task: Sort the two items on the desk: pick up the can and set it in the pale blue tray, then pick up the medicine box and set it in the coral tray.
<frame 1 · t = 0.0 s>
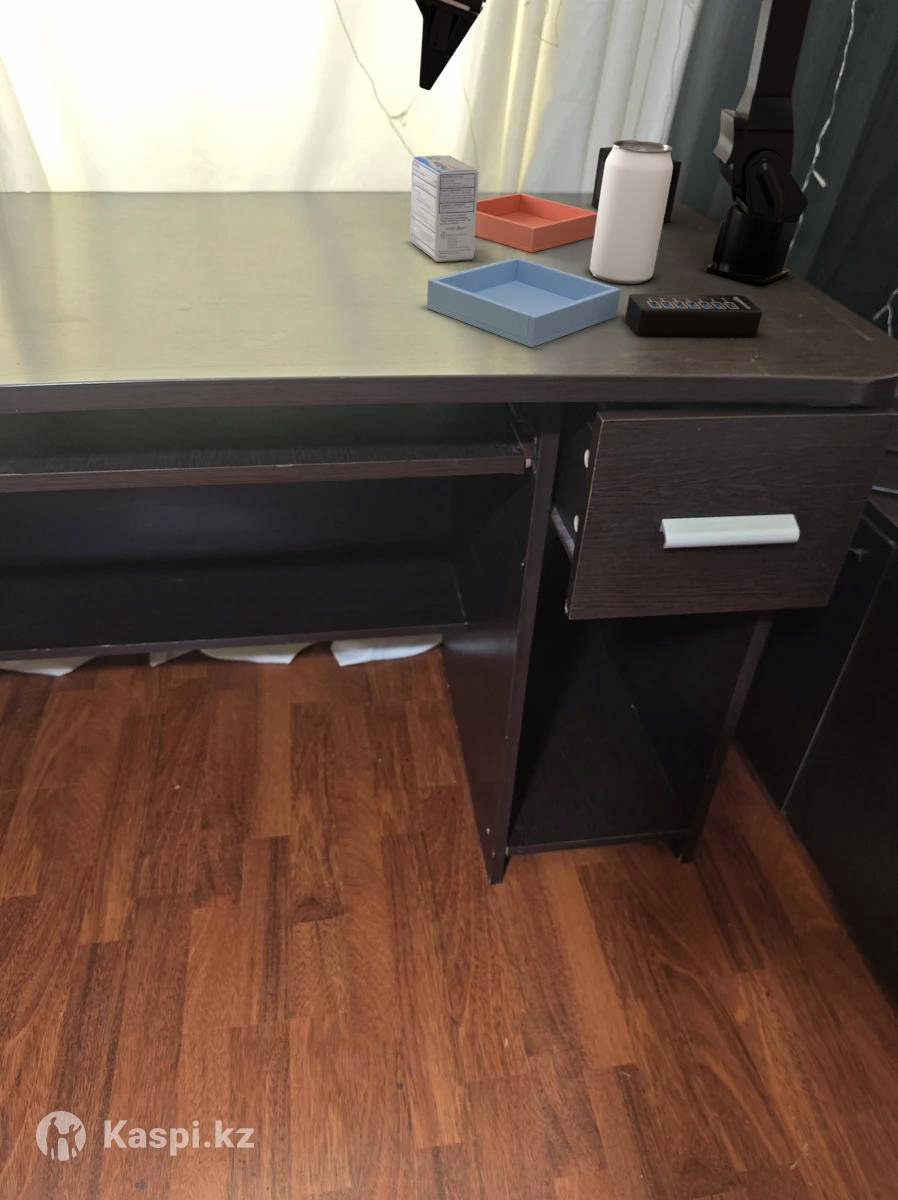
hand: (428, 82, 82), 15 cm above the table, tool pointing down, fingers open, 9 cm apart
multiport hub: (689, 330, 76), on the table
digital camera: (625, 216, 109), on the table
coral tray: (524, 232, 100), on the table
can: (619, 277, 88), on the table
blue tray: (522, 312, 77), on the table
medicine box: (440, 253, 91), on the table
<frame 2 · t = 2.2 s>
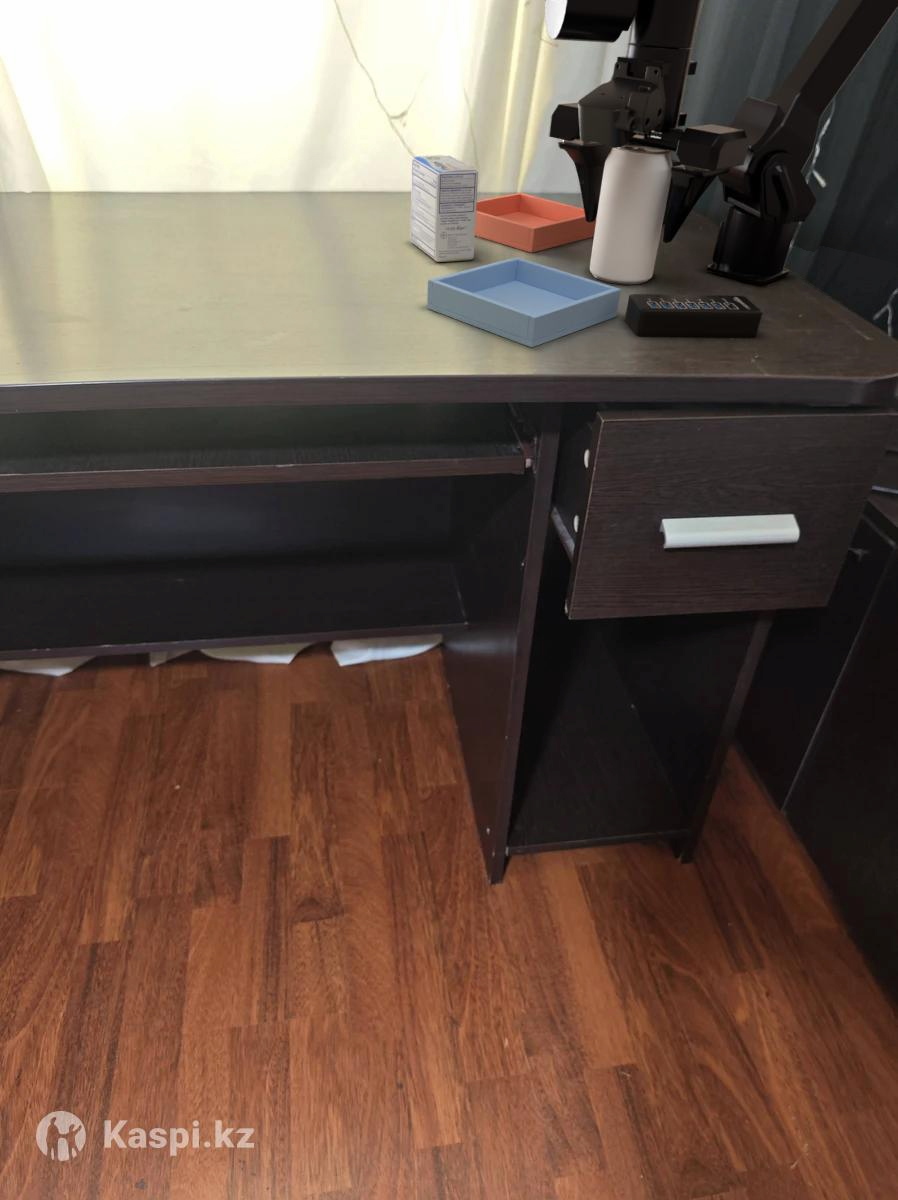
hand: (627, 231, 85), 4 cm above the table, tool pointing down
can: (619, 278, 88), on the table, touching gripper
everything else where it was.
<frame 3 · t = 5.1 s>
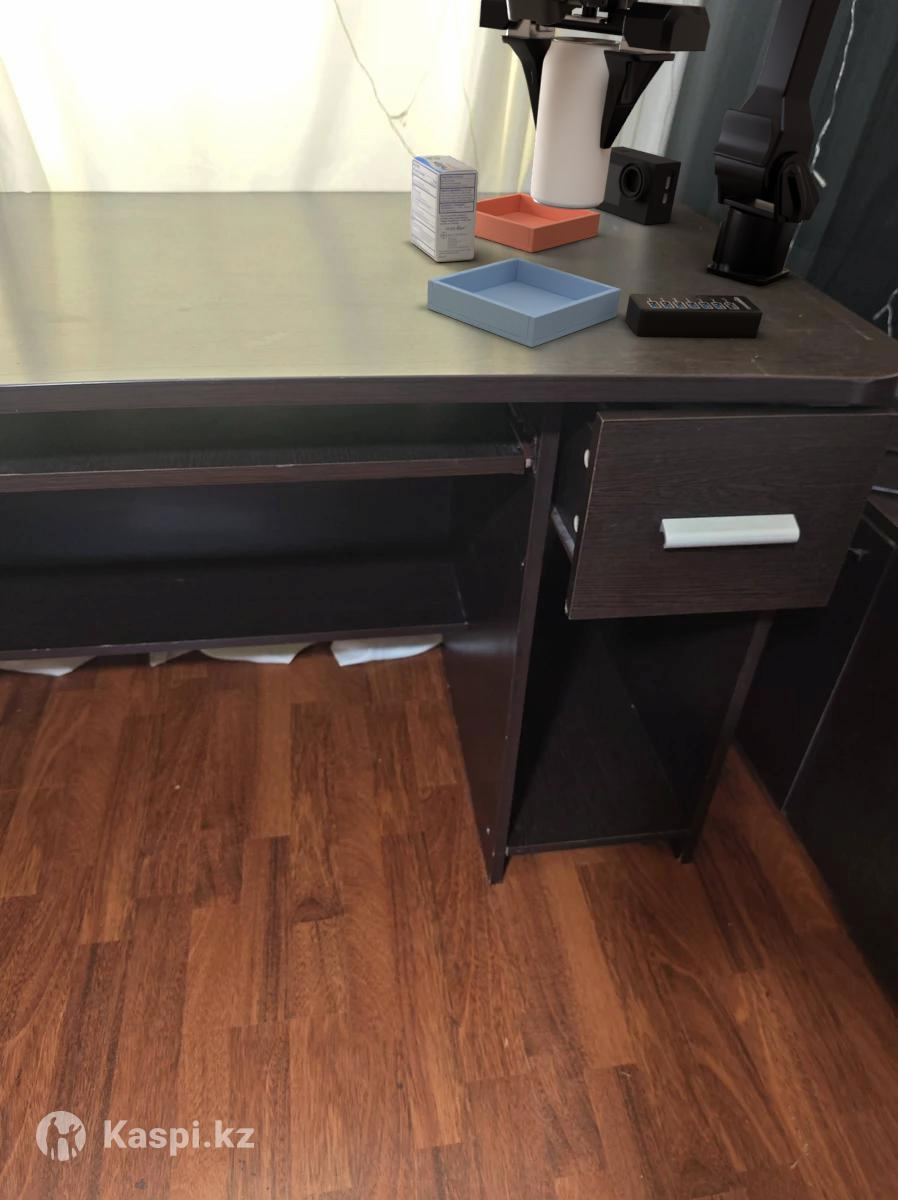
hand: (572, 141, 72), 13 cm above the table, tool pointing down, fingers closed on can, 6 cm apart
can: (565, 204, 75), point 8 cm above the table, touching gripper
everything else where it was.
when the fingers open (5 cm above the table, at t = 7.7 s): can stays where it is, resting on blue tray.
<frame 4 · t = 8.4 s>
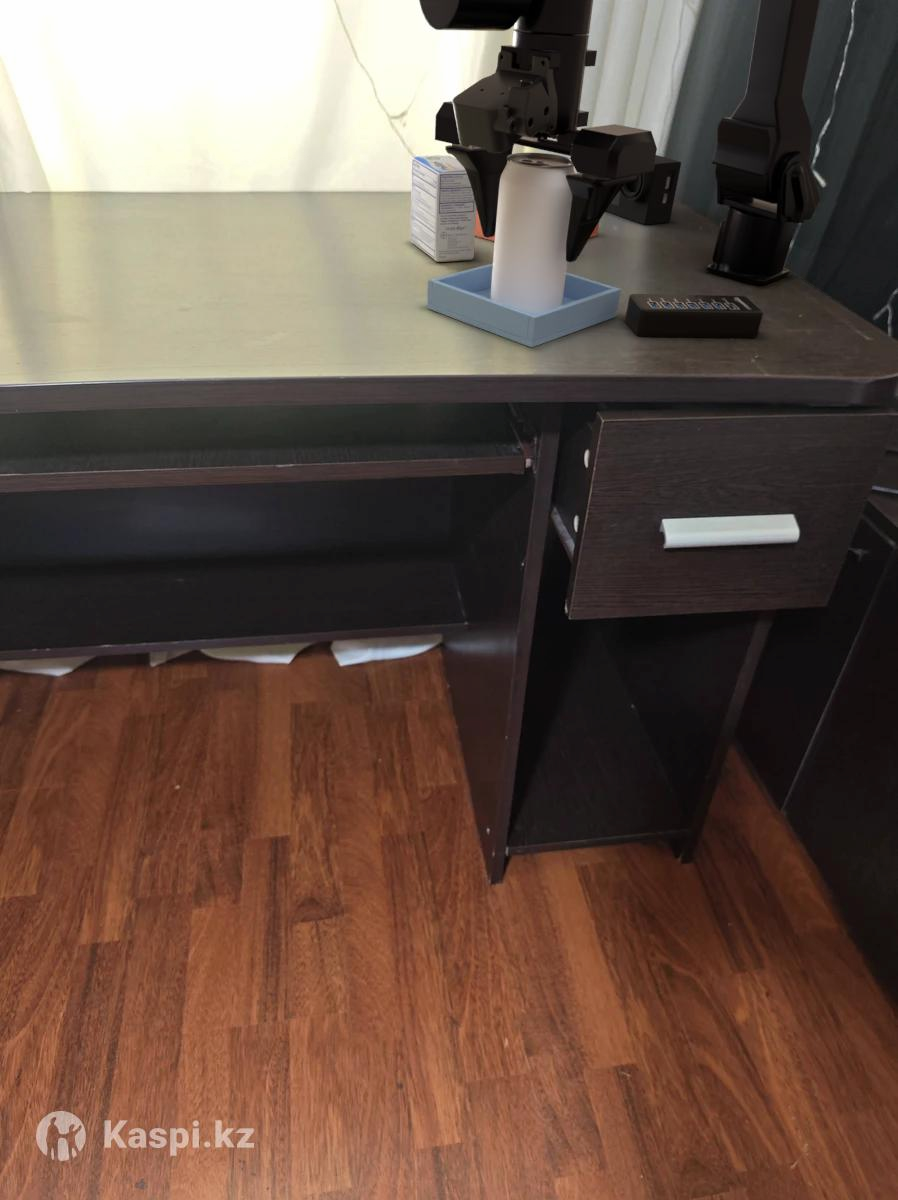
hand: (528, 248, 74), 6 cm above the table, tool pointing down, fingers open, 9 cm apart
can: (525, 308, 77), resting on blue tray
everything else where it was.
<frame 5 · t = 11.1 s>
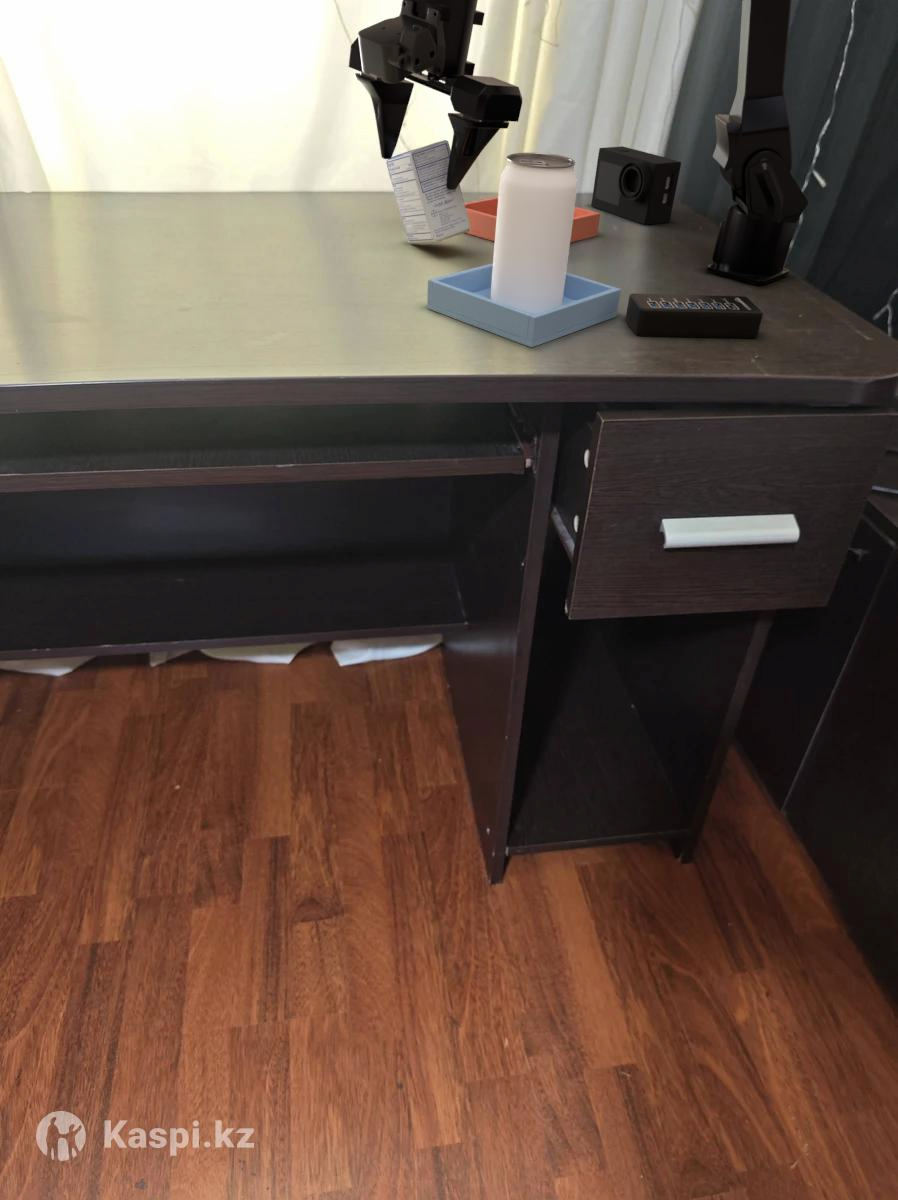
hand: (417, 173, 87), 7 cm above the table, tool pointing down, fingers closed on medicine box, 9 cm apart
medicine box: (439, 239, 91), point 1 cm above the table, touching gripper
everything else where it was.
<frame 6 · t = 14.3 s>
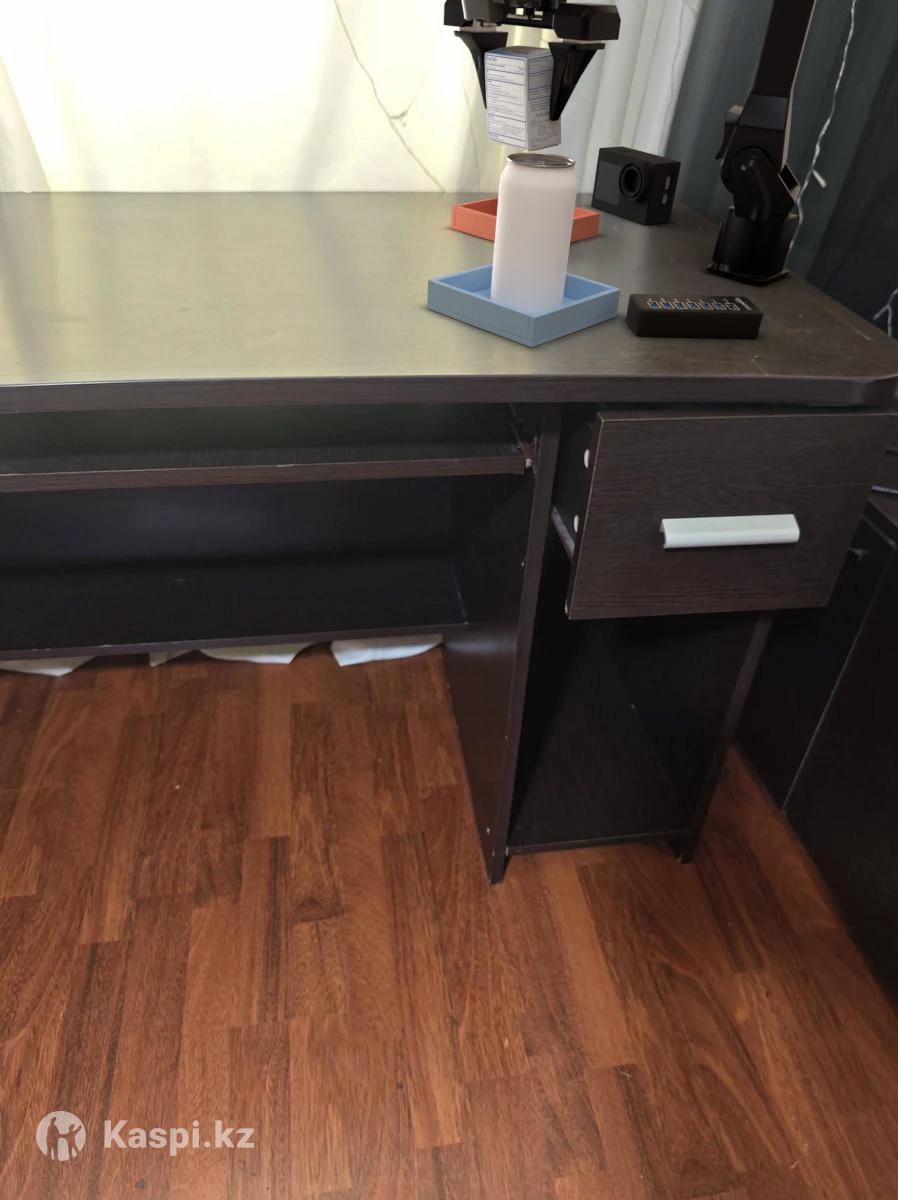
hand: (520, 114, 90), 12 cm above the table, tool pointing down, fingers closed on medicine box, 8 cm apart
medicine box: (523, 146, 92), point 9 cm above the table, touching gripper
everything else where it was.
when the fingers open (4 cm above the table, at t = 17.2 s): medicine box stays where it is, resting on coral tray.
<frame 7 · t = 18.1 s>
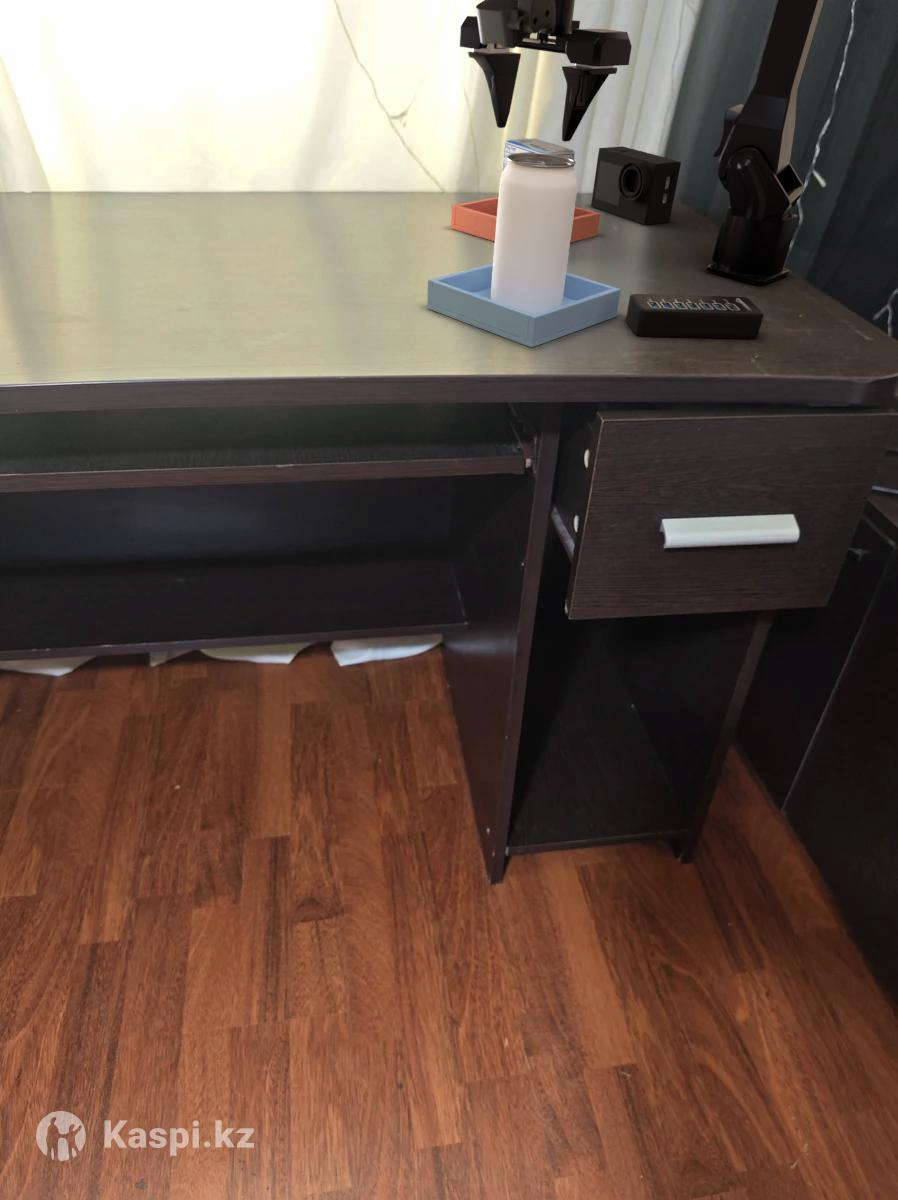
hand: (532, 134, 94), 10 cm above the table, tool pointing down, fingers open, 9 cm apart
medicine box: (531, 229, 100), resting on coral tray
everything else where it was.
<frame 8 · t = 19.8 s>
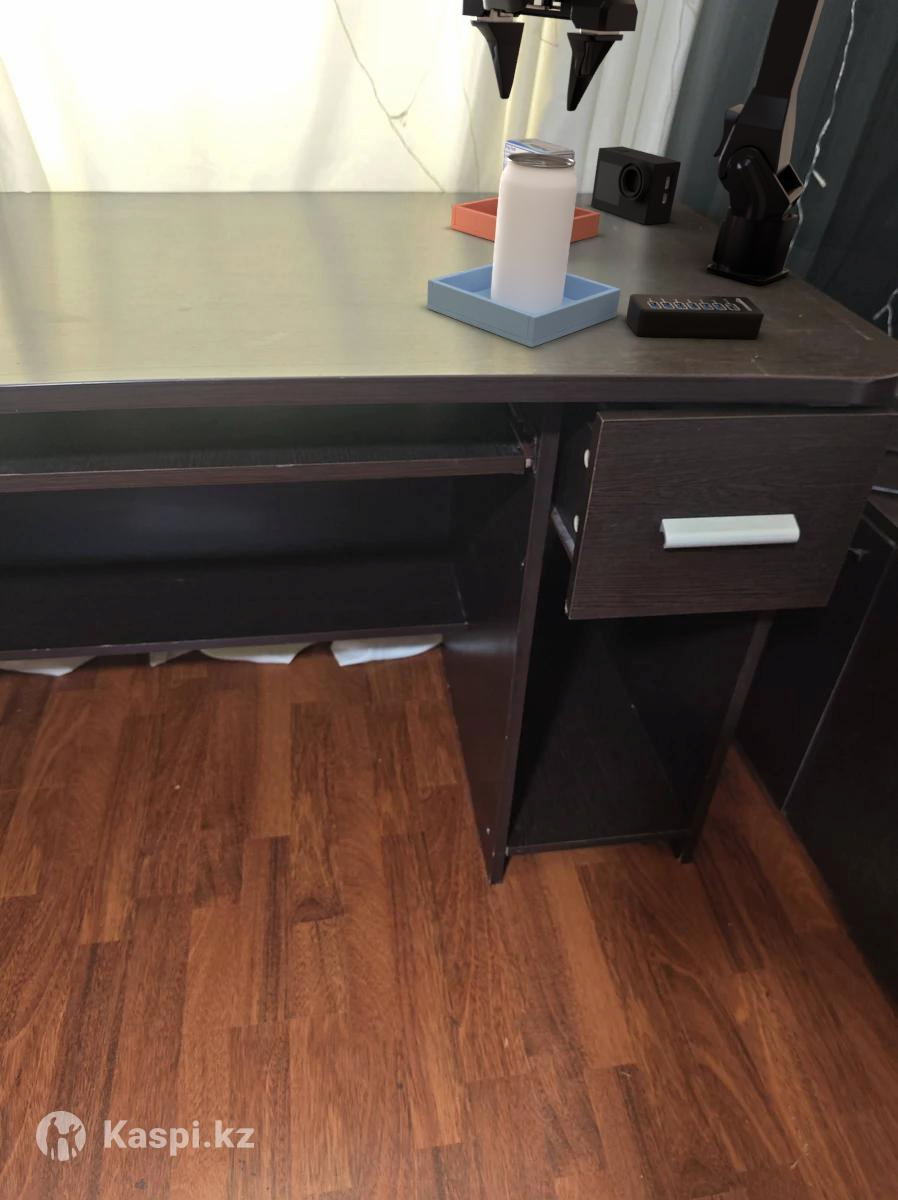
hand: (536, 104, 92), 13 cm above the table, tool pointing down, fingers open, 9 cm apart
nothing on the table moved.
at the end: can inside the target area in the blue tray (0.3 cm from its centre), point 0.3 cm above the blue tray's base; medicine box inside the target area in the coral tray (0.8 cm from its centre), point 0.3 cm above the coral tray's base; can tilted 0° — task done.
